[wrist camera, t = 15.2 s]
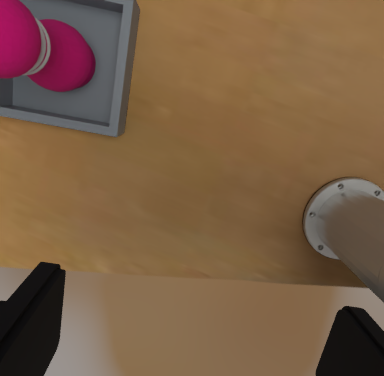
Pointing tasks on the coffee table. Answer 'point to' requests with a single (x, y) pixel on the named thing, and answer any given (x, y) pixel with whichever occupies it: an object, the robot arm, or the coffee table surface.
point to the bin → (103, 76)
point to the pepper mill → (42, 50)
